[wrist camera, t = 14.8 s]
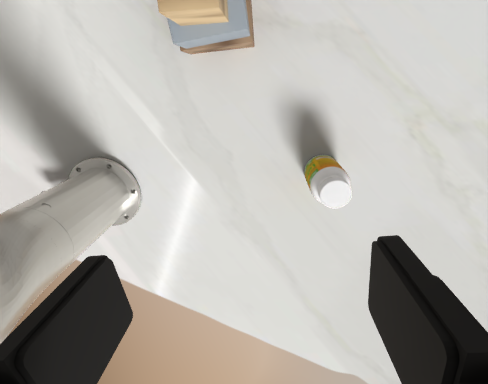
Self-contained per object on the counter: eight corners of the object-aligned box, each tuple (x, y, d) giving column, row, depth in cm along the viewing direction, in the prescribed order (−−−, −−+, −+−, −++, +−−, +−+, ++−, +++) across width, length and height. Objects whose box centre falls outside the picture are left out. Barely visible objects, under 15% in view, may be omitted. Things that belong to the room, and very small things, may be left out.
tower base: (191, 54, 37) (180, 50, 32) (178, -25, 34) (165, -41, 29) (254, 46, 36) (252, 42, 31) (248, -35, 33) (246, -54, 28)
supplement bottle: (305, 153, 41) (317, 173, 32) (340, 154, 41) (362, 175, 32) (302, 185, 43) (311, 212, 34) (335, 186, 43) (353, 214, 34)
